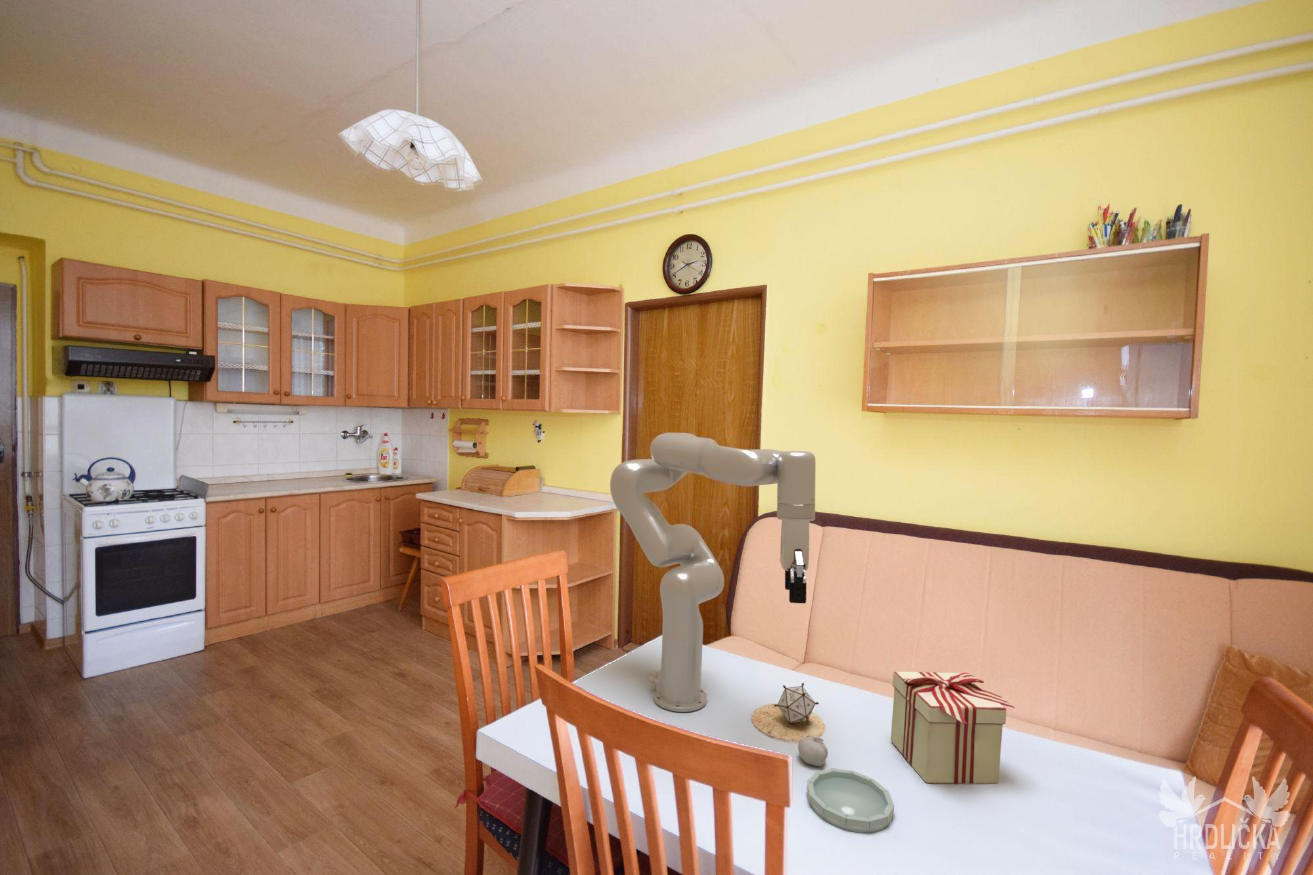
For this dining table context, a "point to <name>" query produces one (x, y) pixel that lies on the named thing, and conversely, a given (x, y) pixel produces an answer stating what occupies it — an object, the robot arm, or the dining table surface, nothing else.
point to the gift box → (948, 727)
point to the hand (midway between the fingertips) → (795, 595)
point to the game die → (796, 704)
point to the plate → (850, 800)
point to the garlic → (813, 750)
